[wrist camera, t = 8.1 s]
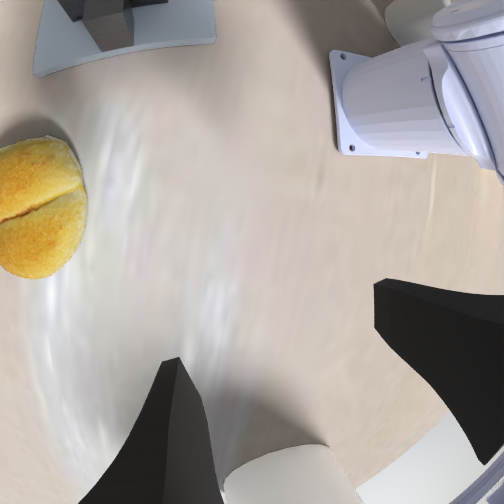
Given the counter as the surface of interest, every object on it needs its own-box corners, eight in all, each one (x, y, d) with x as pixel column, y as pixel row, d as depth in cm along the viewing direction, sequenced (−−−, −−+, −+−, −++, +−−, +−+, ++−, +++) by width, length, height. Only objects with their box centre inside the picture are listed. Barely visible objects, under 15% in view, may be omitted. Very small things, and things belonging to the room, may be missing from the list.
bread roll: (12, 276, 15) (-14, 299, 12) (-10, 157, 12) (-42, 159, 9) (104, 260, 17) (88, 284, 13) (84, 124, 14) (61, 115, 10)
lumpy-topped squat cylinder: (371, 10, 16) (441, -24, 8) (426, -13, 15) (480, -32, 7) (433, 104, 20) (509, 102, 12) (473, 60, 19) (529, 56, 11)
